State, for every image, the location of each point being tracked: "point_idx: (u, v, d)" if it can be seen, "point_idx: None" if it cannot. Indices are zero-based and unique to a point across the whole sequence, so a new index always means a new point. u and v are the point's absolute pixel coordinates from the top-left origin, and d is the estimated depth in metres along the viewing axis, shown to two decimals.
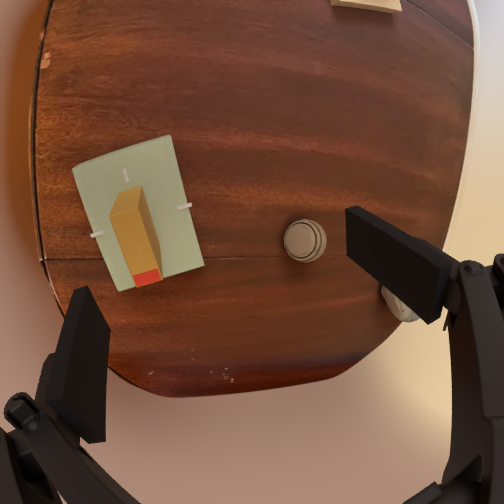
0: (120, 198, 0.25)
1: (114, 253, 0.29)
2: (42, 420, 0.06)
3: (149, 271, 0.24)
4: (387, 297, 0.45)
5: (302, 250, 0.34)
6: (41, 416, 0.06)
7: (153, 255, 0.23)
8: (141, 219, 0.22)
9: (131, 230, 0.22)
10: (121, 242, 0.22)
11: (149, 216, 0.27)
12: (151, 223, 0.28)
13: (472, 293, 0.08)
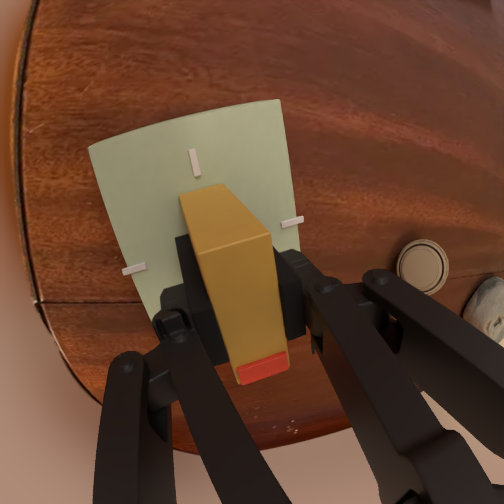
0: (194, 207, 0.13)
1: None
2: (191, 337, 0.09)
3: (269, 356, 0.12)
4: (472, 324, 0.33)
5: (425, 282, 0.23)
6: (191, 333, 0.09)
7: (283, 329, 0.12)
8: (273, 261, 0.10)
9: (247, 286, 0.10)
10: (221, 310, 0.10)
11: None
12: None
13: (333, 316, 0.09)
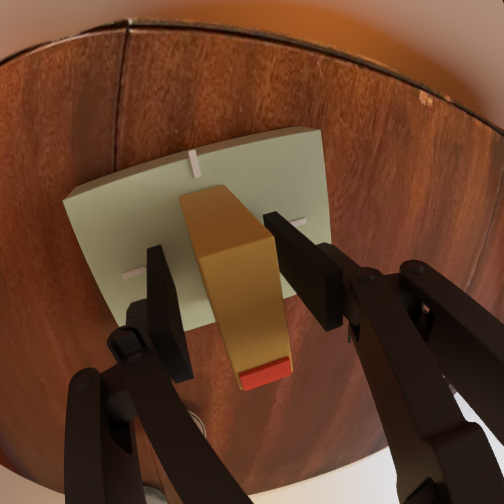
0: (195, 209, 0.13)
1: (148, 196, 0.14)
2: (147, 355, 0.09)
3: (272, 362, 0.12)
4: None
5: None
6: (147, 351, 0.09)
7: (286, 334, 0.11)
8: (276, 265, 0.10)
9: (250, 291, 0.10)
10: (223, 316, 0.10)
11: None
12: None
13: (372, 305, 0.09)
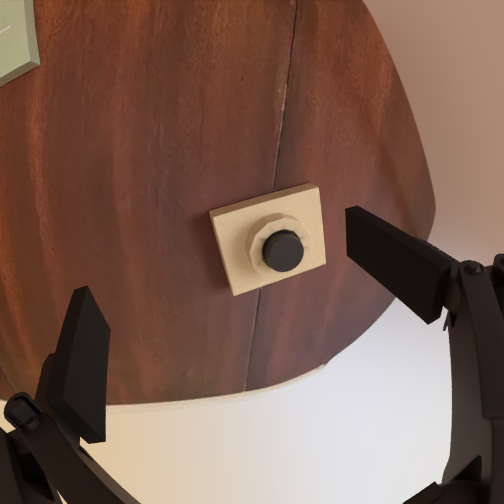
0: None
1: None
2: (42, 420, 0.06)
3: None
4: None
5: None
6: (41, 416, 0.06)
7: None
8: None
9: None
10: None
11: None
12: None
13: (472, 293, 0.08)
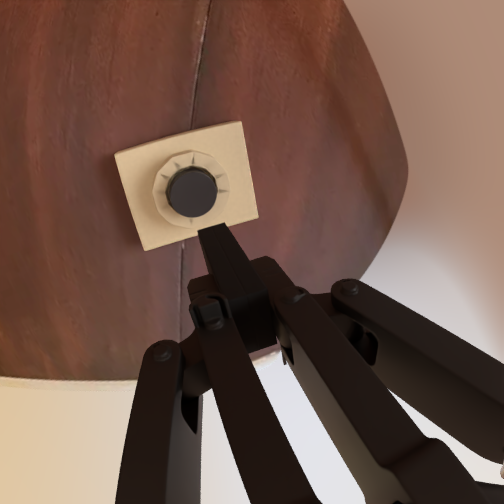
0: None
1: None
2: (227, 325, 0.09)
3: None
4: None
5: None
6: (227, 321, 0.09)
7: None
8: None
9: None
10: None
11: None
12: None
13: (301, 328, 0.09)
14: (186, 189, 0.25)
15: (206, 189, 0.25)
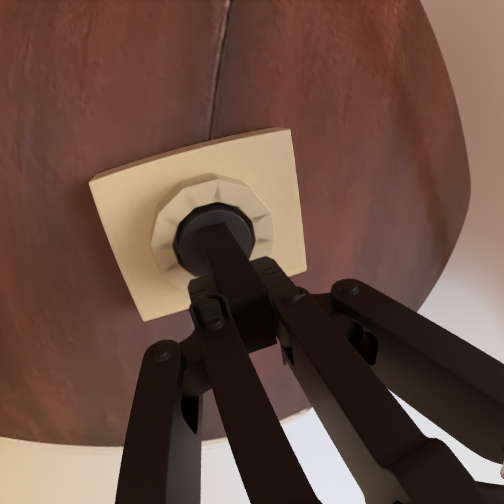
0: None
1: None
2: (227, 325, 0.09)
3: None
4: None
5: None
6: (227, 321, 0.09)
7: None
8: None
9: None
10: None
11: None
12: None
13: (301, 328, 0.09)
14: None
15: (236, 236, 0.17)
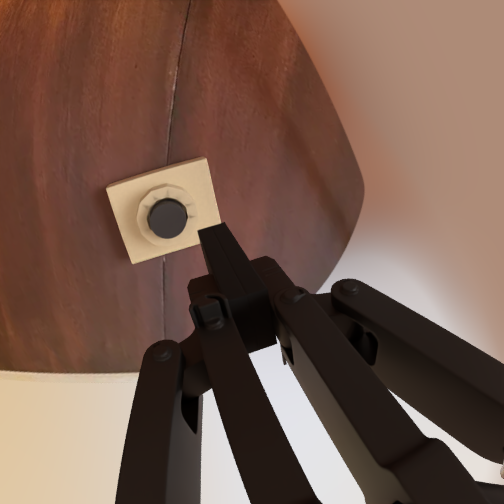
0: None
1: None
2: (227, 325, 0.09)
3: None
4: None
5: None
6: (227, 321, 0.09)
7: None
8: None
9: None
10: None
11: None
12: None
13: (301, 328, 0.09)
14: (162, 217, 0.32)
15: (177, 216, 0.32)
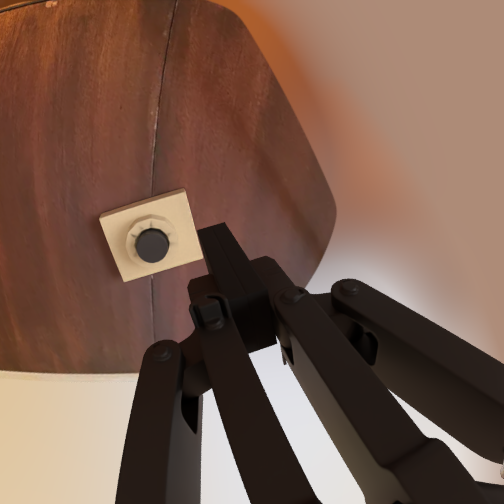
0: None
1: None
2: (227, 325, 0.09)
3: None
4: None
5: None
6: (227, 321, 0.09)
7: None
8: None
9: None
10: None
11: None
12: None
13: (301, 328, 0.09)
14: (147, 245, 0.37)
15: (160, 244, 0.37)
